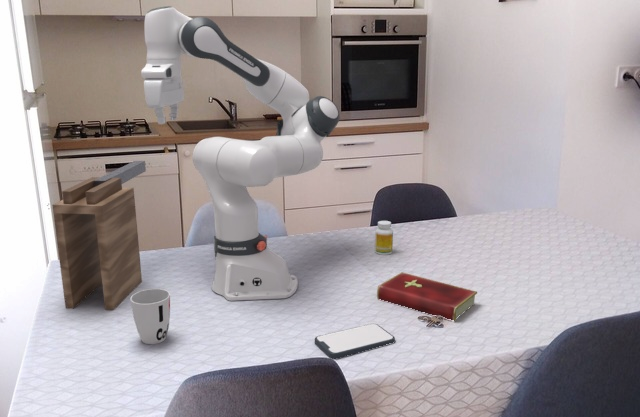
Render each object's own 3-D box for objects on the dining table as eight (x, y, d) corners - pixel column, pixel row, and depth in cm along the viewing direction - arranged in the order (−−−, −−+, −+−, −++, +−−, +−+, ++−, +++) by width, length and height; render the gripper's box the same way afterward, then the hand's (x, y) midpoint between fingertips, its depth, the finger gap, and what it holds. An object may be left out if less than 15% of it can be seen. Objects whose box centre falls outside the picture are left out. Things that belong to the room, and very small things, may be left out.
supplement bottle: (372, 250, 184) (373, 220, 181) (389, 248, 185) (389, 219, 182) (377, 256, 179) (378, 225, 176) (394, 254, 180) (395, 224, 177)
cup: (162, 349, 124) (159, 305, 122) (127, 345, 126) (123, 302, 123) (179, 331, 132) (176, 290, 129) (145, 328, 134) (141, 287, 131)
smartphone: (374, 328, 135) (312, 343, 127) (375, 322, 134) (312, 336, 127) (397, 345, 127) (332, 362, 120) (397, 338, 127) (332, 355, 119)
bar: (145, 171, 173) (144, 160, 172) (106, 192, 148) (105, 180, 147) (135, 170, 173) (134, 160, 172) (94, 192, 148) (93, 180, 147)
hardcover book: (454, 324, 136) (455, 307, 135) (377, 300, 149) (377, 285, 147) (476, 306, 145) (477, 290, 144) (401, 286, 158) (402, 271, 157)
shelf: (141, 281, 160) (132, 176, 152) (113, 310, 143) (100, 193, 135) (99, 279, 161) (87, 175, 154) (65, 308, 144) (50, 192, 136)
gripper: (166, 68, 170) (169, 117, 173) (138, 71, 150) (142, 126, 154) (187, 68, 169) (190, 117, 173) (162, 71, 149) (166, 126, 153)
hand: (167, 121), depth 163 cm, fingers open, 8 cm apart
